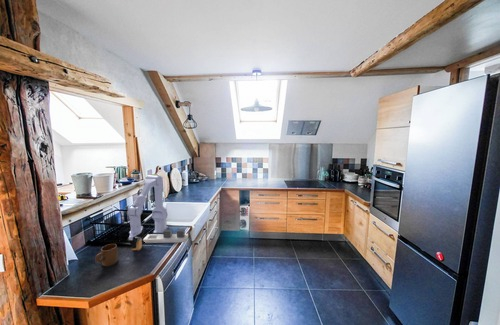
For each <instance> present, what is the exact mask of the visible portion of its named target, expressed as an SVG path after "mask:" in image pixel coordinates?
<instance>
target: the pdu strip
mask: <svg viewBox="0 0 500 325" xmlns="http://www.w3.org/2000/svg"><path fill="white" fill-rule="evenodd" d="M188 238H189V233H186V229H185V228H178V229H177V230H176V233H173V230H172V228H169V229H168V228H167V229H165V230H164V231H163V233H153V234H152V233H151V234H149V233H147V235H146V236H145V237H144V238H142V241H144V242H145V243H144V244H159V243H160V244H161V243H164V244H165V243H166V244H167V243H168V244H169V243H187V241H188Z"/></svg>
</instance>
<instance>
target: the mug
mask: <svg viewBox="0 0 500 325" xmlns="http://www.w3.org/2000/svg"><path fill="white" fill-rule="evenodd" d="M118 254H119V253H118V246H117V244H116V243H109V244H106V245H104V246H102V247H101V249H100V252H99V253H97V254H96V255H95V258H94V261H95V262H96V263H98V264H99V263H101V264H102V266H103V267H112V266H114V265H115V264H117V263H118V261H119V255H118ZM100 257H101V258H100Z"/></svg>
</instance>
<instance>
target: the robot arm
mask: <svg viewBox="0 0 500 325" xmlns="http://www.w3.org/2000/svg"><path fill="white" fill-rule="evenodd" d="M163 180H164V179H163V176H161V175H154V174H153V175H152V174H148V175H146V176H145V179H144V185H143V188H142V190H141V192H140V194H138V195H137V196H136V198H135V200H134V201H133V203H132V206H129V207H128V208H127V211H126V214H127V216H128V218H129V224H130V231H129V232H128V234H129V237H128V238H127V240H126V241H127V242H128V243H129V244H130V248H131V250H132V249H135V248H136V244H137V239H138V238H135V237H141V238H142V239H143V236H144V234H145V230H144V226H143V225H142V224H141V223H142V222H141V221H142V220H141V215H142V214H143V209H144V208H143V207H144V205H145V202H146V201H147V198H146V197H147V195H148V193H149V192H150V191H151V189H152V188H154V189H153V190H154V208H153V209H152V213H151V218H152V219H153V221H154V230H153V231H152V233H153V234H163V231H164V230H165V229H168V228H169V226H167V225H168V224H167V223H168V222H167V221H168V220H167V219H168V210H167V209H168V208H166V207H165V206H164V198H163V186H164V181H163Z"/></svg>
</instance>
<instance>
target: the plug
mask: <svg viewBox="0 0 500 325" xmlns="http://www.w3.org/2000/svg"><path fill="white" fill-rule="evenodd" d="M135 238H138V239H137V244H136V248H135V249H132V248H131V250H132V251H140V250H141V249H142V248H143V242H142V241H143V237H142V238H141V237H136V236H135Z"/></svg>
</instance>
